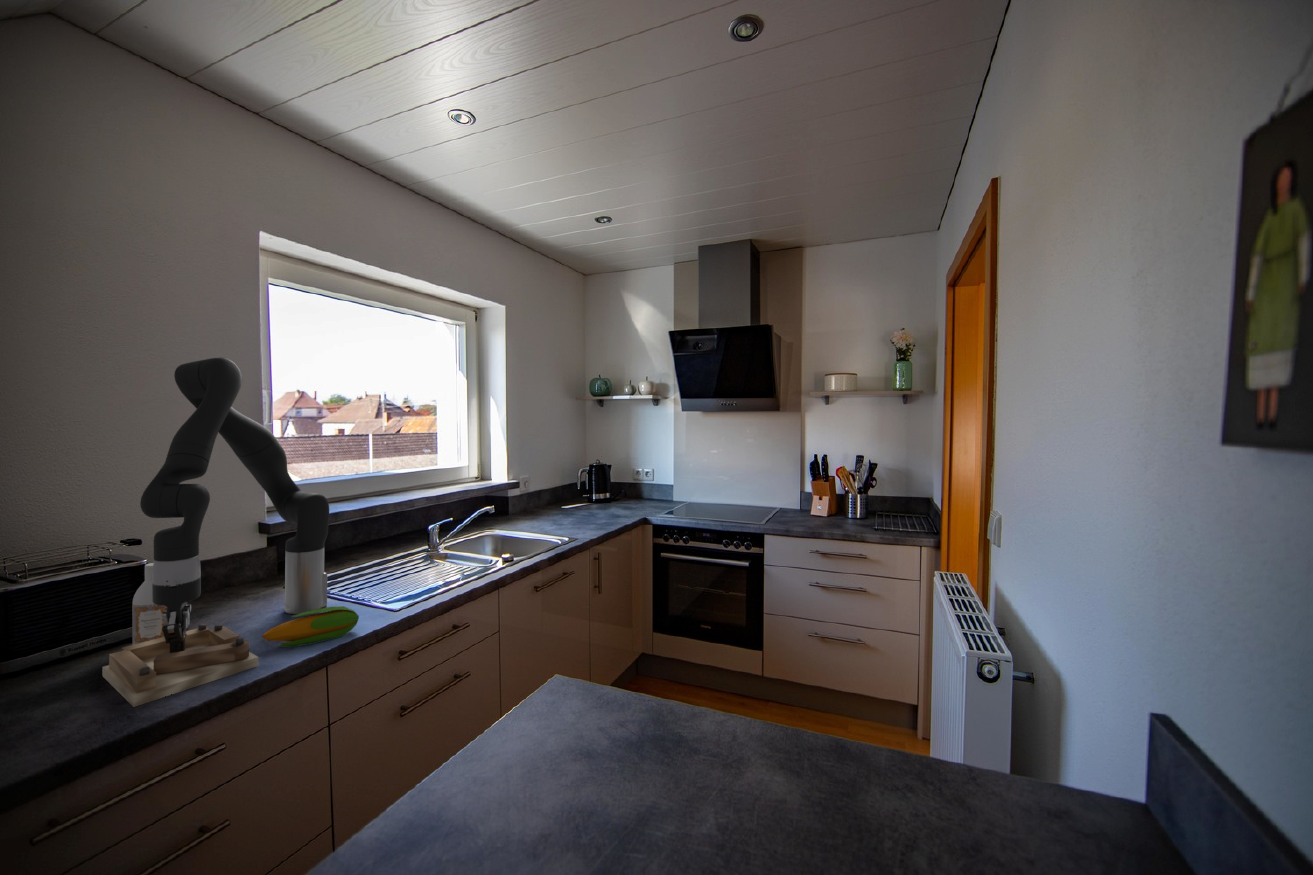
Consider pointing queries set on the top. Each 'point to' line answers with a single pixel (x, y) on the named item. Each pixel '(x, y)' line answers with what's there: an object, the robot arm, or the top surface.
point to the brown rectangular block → (201, 657)
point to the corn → (314, 627)
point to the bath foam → (146, 612)
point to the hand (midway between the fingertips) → (177, 657)
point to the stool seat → (142, 685)
